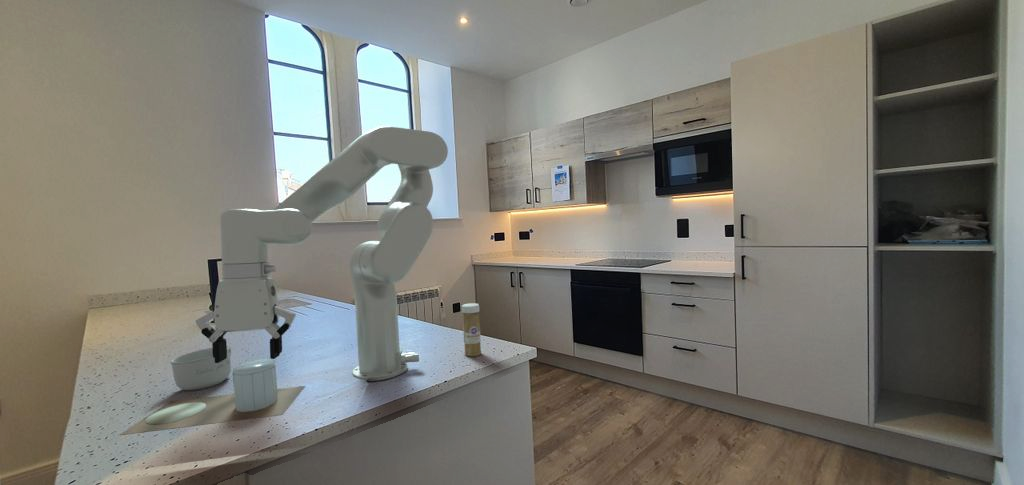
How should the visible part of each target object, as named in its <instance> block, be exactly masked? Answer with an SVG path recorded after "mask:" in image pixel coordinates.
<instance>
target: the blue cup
mask: <svg viewBox="0 0 1024 485" xmlns="http://www.w3.org/2000/svg"><path fill="white" fill-rule="evenodd" d="M275 362H276V361H275V359H271V358H263V359H262V358H261V359H255V360H251V361H246V362H243V363H240V364H237V365H235V366H234V367H232V381H233V382H232V383H233V385H232V386H233V394H234V398H235V408H236V411H240V412H248V411H255V410H259V409H262V408H266V407H268V406H270V405H272V404H274V403H275V402H276V401H277V400H278V393H277V389H278V381H277V380H278V378H277V369H276V368H277V367H276V364H275Z"/></svg>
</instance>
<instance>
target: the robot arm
mask: <svg viewBox="0 0 1024 485" xmlns="http://www.w3.org/2000/svg"><path fill="white" fill-rule="evenodd" d="M448 153H449V148H448V145H447V143H446V141H445V139H444V138H442V136H440V135H439V134H437V133H436V132H433V131H429V130H420V129H414V128H413V129H412V128H404V127H399V126H398V127H397V126H388V125H385V126H383V125H382V126H377V127H375V128H373V129H371V130H369V131H367V132H365V133H363V134H361V135H360V136H358V137H357V138H356V139H354V140H353V142H351V143H350V144H348V146H346V147H345V148H344V149H343V150H342V151H341V152H339V154H337V155H336V156H335V157H334V158H333V159H332V160H330V161H329V162H328V163H327V164H325V165H324V166H323V167H322V168H321V169H320V170H318V171H317V172H316V173H315V174H314V175H312V176H311V177H310V178H309V179H308V180H307V181H305V183H303V184H302V185H301V186H299V188H297V189H296V190H295V191H294V192H292V193H291V194H290V195H289V196H287V198H285V199H284V200H282V202H281V203H279V204H278V205H276V206H275V208H273V209H272V210H271V209H270V210H269V209H268V210H260V209H255V208H254V209H253V208H230V209H226V210H224V211H222V213H221V214H220V219H219V220H220V244H221V246H220V247H221V250H220V251H221V277H222V278H221V279H220V280H219V281H218V284H217V286H216V287H217V288H216V291H215V292H216V293H215V300H214V310H213V311H211V312H209V313H207V314H205V315H203V316H202V317H199V318H197V319H196V320H195V323H196V325H197V327H198V329H199V330H200V331H201V332H200V333H201V334H202V335H203V336H204V337H206V338H207V340H208V341H209V343H211V344H212V346H211V348H212V349H213V358H215V363H220V362H221V361H223V360H225V359H226V358H227V346H228V343H227V339H226V338H224V336H226V334H228V333H233V332H247V331H248V332H249V331H262V330H265V331H266V332H267V333H268V334H269V335H270V336H271V338H270V339H269V354H270V355H269V356H270V357H269V359H272V360H276V358H278V357H279V356H280V354H281V353H282V352H283V336H284V334H285V333H286V332H287V331H288V330H289V329H290V328H291V327H292V324H293V323H294V321H295V320H296V317H297V315H296V313H295V312H293V311H289V310H287V309H285V308H282V307H280V306H279V300H278V292H277V288H276V283H275V280H274V277H269V275H270V274H271V273H275V272H276V270H277V268H276V265H272V264H270V262H268V245H269V244H270V245H278V246H297V245H300V244H302V243H304V242H305V241H307V240H308V239H309V237H310V236H311V235H312V232H313V222H314V221H315V220H316V219H319V217H320V216H322V215H323V214H324V213H326V212H327V211H329V210H330V209H332V208H334V207H337V206H339V205H340V204H342V203H344V202H346V201H347V200H349V199H350V198H352V197H353V196H354V195H355V194H356V193H357V192H358V191H359V190H360V189H362V187H363V186H364V185H365V184H366V183H368V182H369V180H370V179H372V178H373V177H374V176H376V174H377V173H379V172H380V170H382V169H383V168H384V167H386V166H389V165H391V164H393V165H397V167H398V170H399V172H400V179H401V180H400V183H399V186H398V188H397V190H396V191H395V193H394V195H393V196H392V197H391V199H390V200H389V202H388V204H387V205H386V207H385V208H384V209H383V211H382V213H381V214H380V215H379V217H378V220H377V232H378V234H379V235H380V237H381V239H380V240H369V241H365V242H363V243H360V244H358V245H357V246H356V247H355V248H354V249H353V250H352V253H351V254H350V257H349V258H350V259H349V273H350V277H351V282H352V287H353V296H354V307H355V310H354V311H355V323H356V324H355V326H356V339H357V340H356V342H357V356H358V366H355V367H354V368H353V369H352V372H351V374H352V376H353V377H354V378H357V379H361V380H362V379H364V380H366V382H377V381H384V380H388V379H391V378H395V377H398V376H400V375H401V374H403V373H404V372H406V371H407V370H408V363H420V353H415V352H403V348H402V347H400V336H399V335H400V332H399V319H398V318H399V317H398V316H399V314H398V297H397V290H396V286H395V284H396V283H398V282H400V281H402V280H403V279H405V278H406V276H407V275H408V274H409V273H410V271H411V270H412V269H413V266H414V265H415V264H416V263H417V262H416V261H418V258H419V257H420V256H421V253H422V252H423V250H424V248H425V247H426V244H427V242H428V241H429V239H430V238H431V235H432V231H433V227H434V221H433V216H432V214H431V211H430V209H429V208H428V205H429V204H430V202H431V200H432V197H433V193H434V185H433V180H432V174H431V172H430V170H432V169H435V168H438V167H441V166H442V165H443V164H444V163H445V161H446V160H447V158H448V155H449V154H448ZM280 317H281V318H283V319H284V322H283V324H282V325H281V326H280V325H279V324H278V323H279V321H280ZM211 320H214V322H213V323H214V327H215V329H214V328H213V327H212V326H211V325H210V322H211Z"/></svg>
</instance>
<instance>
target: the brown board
mask: <svg viewBox="0 0 1024 485" xmlns="http://www.w3.org/2000/svg"><path fill="white" fill-rule="evenodd" d="M305 387H306V385H302V386H293V387H286V388H285V387H283V388H277V393H278V400H277V401H276V402H275V403H274V404H272V405H270V406H268V407H266V408H262V409H259V410H255V411H248V412H240V411H236V408H235V398H234V393H229V394H222V395H214V396H205V397H198V398H195V397H194V398H187V399H178V400H170V401H168V402H167V403H165V404H164V405H163V406H161V407H159V408H158V409H156V410H155V411H153V412H152V413H150V414H149V415H147V416H145V417H144V418H143V419H141V420H139V421H138V422H137V423H135V424H134V425H132V426H130V427H129V428H127V429H126V430H124V431H123V432H122V433H120V434H119V436H124V435H125V436H126V435H132V434H140V433H147V432H148V433H149V432H156V431H165V430H172V429H179V428H180V429H181V428H188V427H197V426H204V425H212V424H218V423H227V422H229V423H230V422H235V421H244V420H252V419H260V418H269V417H276V416H282V415H284V414H285V413H286V411H287V410H288V409H289V408H290V406H291V405H292V404H293V403H294V401H296V399H297V398H298V396H300V394H301V393H302V392H303V390H305Z"/></svg>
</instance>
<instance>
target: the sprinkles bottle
mask: <svg viewBox="0 0 1024 485" xmlns="http://www.w3.org/2000/svg"><path fill="white" fill-rule="evenodd" d="M461 310H462V311H461V312H462V319H463V324H462V326H463V327H462V328H463V330H462V331H463V343H464V355H465V356H466V357H477V356H480V355H481V354H482V351H481V350H482V349H481V348H482V346H481V323H480V305H479V303H473V302H472V303H465V304H462V305H461Z"/></svg>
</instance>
